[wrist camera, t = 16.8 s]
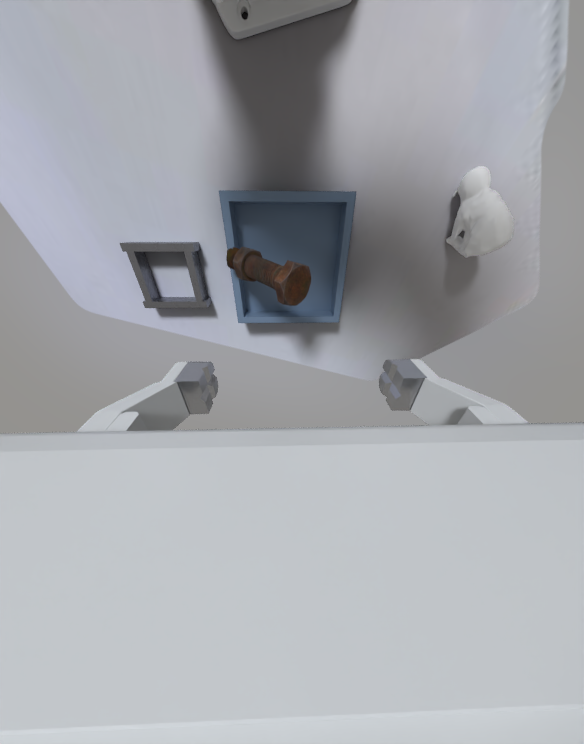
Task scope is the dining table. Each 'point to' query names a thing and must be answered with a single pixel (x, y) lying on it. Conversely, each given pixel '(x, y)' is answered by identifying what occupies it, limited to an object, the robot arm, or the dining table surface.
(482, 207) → the white figurine
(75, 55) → the dining table surface
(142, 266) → the bracket
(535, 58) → the dining table surface
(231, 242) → the tray
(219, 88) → the dining table surface
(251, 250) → the bolt
